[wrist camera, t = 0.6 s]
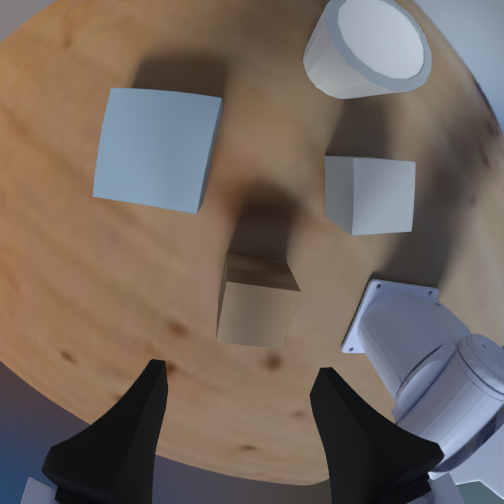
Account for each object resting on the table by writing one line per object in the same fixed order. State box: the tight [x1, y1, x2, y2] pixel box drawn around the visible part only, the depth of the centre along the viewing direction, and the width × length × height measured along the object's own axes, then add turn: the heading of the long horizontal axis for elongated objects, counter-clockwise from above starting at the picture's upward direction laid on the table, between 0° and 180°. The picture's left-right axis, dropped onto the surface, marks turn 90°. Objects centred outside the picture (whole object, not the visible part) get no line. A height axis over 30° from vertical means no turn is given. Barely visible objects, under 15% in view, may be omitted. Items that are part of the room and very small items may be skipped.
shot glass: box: [303, 0, 431, 99], centre depth 12 cm, size 7×7×7 cm
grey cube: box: [325, 156, 415, 236], centre depth 17 cm, size 4×4×5 cm
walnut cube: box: [216, 251, 301, 348], centre depth 19 cm, size 4×4×5 cm
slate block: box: [93, 88, 223, 214], centre depth 16 cm, size 7×7×4 cm
